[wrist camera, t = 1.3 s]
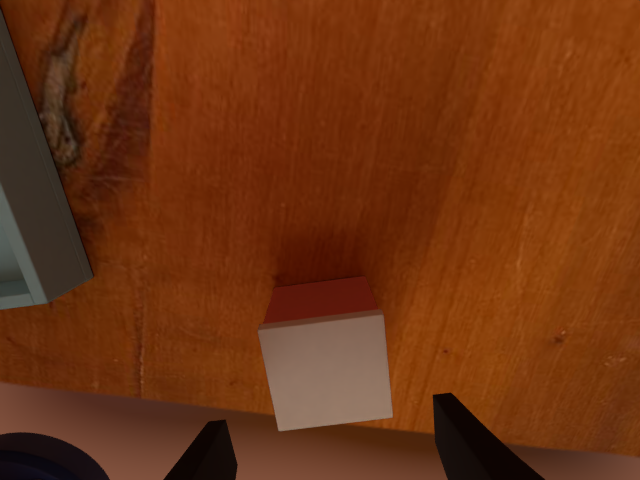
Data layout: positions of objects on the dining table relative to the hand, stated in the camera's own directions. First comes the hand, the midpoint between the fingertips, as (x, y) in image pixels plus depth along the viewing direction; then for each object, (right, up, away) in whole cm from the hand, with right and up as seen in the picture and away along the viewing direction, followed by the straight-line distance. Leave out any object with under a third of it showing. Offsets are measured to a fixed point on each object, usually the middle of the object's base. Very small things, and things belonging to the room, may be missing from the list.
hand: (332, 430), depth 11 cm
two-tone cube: (0, +2, +7) cm, 7 cm away
